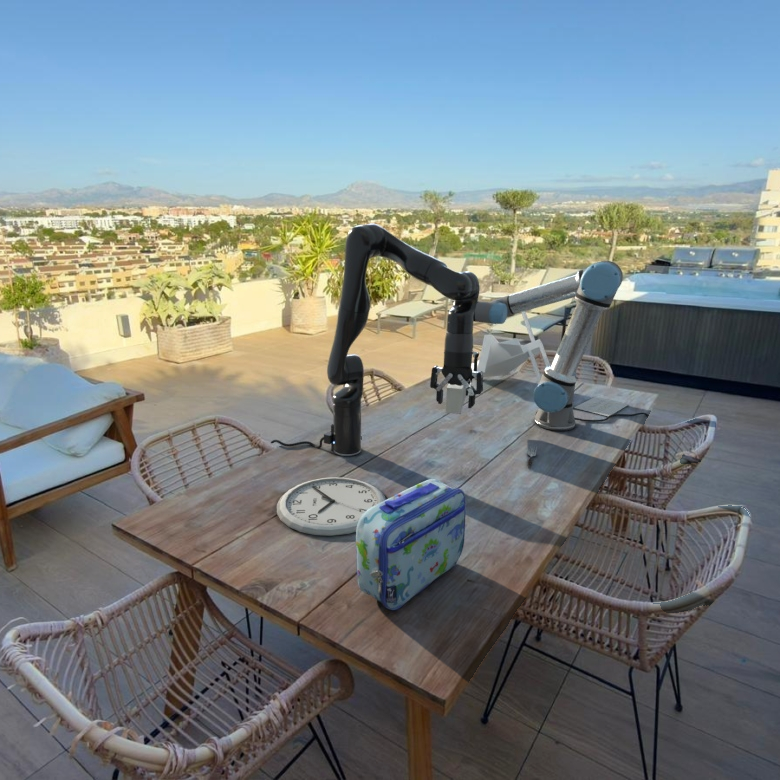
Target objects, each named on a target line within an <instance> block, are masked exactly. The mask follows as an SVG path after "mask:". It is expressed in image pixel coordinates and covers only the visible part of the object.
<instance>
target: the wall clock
mask: <svg viewBox="0 0 780 780" xmlns="http://www.w3.org/2000/svg"><path fill="white" fill-rule="evenodd" d="M385 500H387V498H386V496H385V494H384V493H383V492H382V491H381V490H380V489H379V488H377V487H376V486H374V485H372V484H371V483H369V482H365V481H362V480H359V479H355V478H349V477H338V476H337V477H335V476H333V477H332V476H331V477H322V478H317V479H312V480H307V481H305V482H302V483H299V484H297V485H295V486H293V487H292V488H290V489H288V490H287V491H286V492H285V493H284V494H283V495H281V496H280V498H279V499H278V502H277V503H276V515H277V517H278V518H279V520H280V521H281V522H282V523H283V524H285V525H286V526H287V527H288V528H290V529H293V530H295V531H297V532H299V533H303V534H308V535H312V536H327V537H328V536H329V537H331V536H332V537H333V536H342V535H350V534H352V533H356V529H357V525H358V522H359V520H360V518H361V516H362V515H363V513H364V512H365V511H366V510H368V509H369V508H371V507H373V506H375V505H377V504H379V503H381V502H383V501H385Z"/></svg>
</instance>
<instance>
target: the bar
mask: <svg viewBox="0 0 780 780" xmlns="http://www.w3.org/2000/svg"><path fill="white" fill-rule="evenodd" d="M445 396H446V397H445V398H446V399H445V414H455V415H461V414H462V411H463V408H464V404H465V402H466V397H467V396H466V389H465V387H464V386H463V385H461V386H458V385H450V384H448V383H447V385H446V395H445Z"/></svg>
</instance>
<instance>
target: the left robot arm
mask: <svg viewBox="0 0 780 780" xmlns="http://www.w3.org/2000/svg"><path fill="white" fill-rule="evenodd" d="M344 247H345V248H344V266H343V270H344V271H343V277H342V285H341V286H342V287H341V293H340V299H339V304H338V309H337V317H336V325H335V331H334V337H333V340H332V345H331V349H330V351H329V352H330V353H329V357H328V360H327V367H326V374H327V379H328V381H329V383H331V385H334V386H343V387H342V388H341V389H339V390H338V391H336V392H335V393H334V394H333V396H332V417H333V418H332V419H333V420H332V421H333V422H332V423H331V424H330V430H329V431H328V432H325V433H323V436H322V437H321V438H320V440H319V445H316V444H314V443H313V442H311V441H307V440H305V441H298V442H294V443H285V442H282V441H281V440H279V439H272V440H271V441H270V444H274V443H278V444H280V445H282V446H283V447H296V446H299V445H310V446H312V447H313V448H315V449H321V448H322V447H323V443H324V444H327V445H330V447H331V449H330V451H331V452H333V453H334V454H335V455H337V456H340V457H353V456H357V455H359V454H360V453H361V452H362V441H363V440H362V439H363V436H362V398H363V394H364V377H365V370H364V369H365V368H364V363H363V360H362V358H361V357H360V356H359V355H358V354H349V350H350V349H351V347H352V345H353V344H354V342H355V341H357V339H358V337H359V336H360V335H361V333H362V332H363V330H365V327H366V325H367V323H368V320H369V315H370V309H371V296H370V293H369V290H368V287H367V282H366V274H367V269H368V265H369V261H370V259H374V258H377V257H380V258H385V259H388V260H391V261H393V262H395V263H396V264H397V265H398V266H399V267H401V268H402V270H404V272H405V273H406V274H408V275H409V276H410V277H412V278H413V279H415V280H417V281H419V282H421V283H423V284H425V285H427V286H430V287H432V288H433V289H434V290H435V291H437V292H438V293H439V294H441V295H442V296H443V297H445V298H447V299H449V300H452V301H453V304H452V307H451V309H449V310H448V312H447V315H446V326H445V327H446V329H445V337H444V349H443V366H442V367H441V366H438V365H435V366H433V367H432V368H431V373H430V384H429V387H430V389H434V390H435V391H436V393H435V395H436V397H435V398H436V399H435V401H436V402H437V404H438V405H442V404H443V402H444V389H443V388H444V387H445V386H447V385H448V383H449V384H450V385H458V386H461V385H463V386H464V387H465V389H467V391H468V402H467V409H472V408H473V407H474V406H475V404H476V395H481V394H482V392H483V391H484V378H483V372H482V371H479V372H474V371H472V368H471V366H472V363H473V354H472V351H474V322H473V317H474V312H475V309H476V306H477V301H478V302H479V296H480V290H481V288H480V287H481V286H480V280H479V277H478V276H477V275H476V274H475V272H474V273H473V272H470V271H460V272H458V271H455V270H453V269H451V268H449V267H448V266H447V264H446V263H445V262H443V261H442V260H440V259H438V258H435V257H433V256H431V255H429V254H427V253H425V252H422V251H421V250H418V249H417V248H415V247H412V246H411V245H409V244H408V243H405V242H404V241H403V240H401V239H399V238H398V237H397V236H395V235H394V234H392V233H391V232H390V231H388V230H387V229H386V228H385V227H384V228H383V227H382V226H381V225H379V224H377V223H366V224H360V225H356V226H353V227H351V229H350V230H348V233H347V235H346V239H345V246H344ZM440 374H442V375H443V377H444V378H443V380H442V381H441V382H440V383H438V379H439V378H438V377H439V375H440ZM471 376H474V379H473V380H476V387H474V385H473V381H472V382H471V381H470V377H471Z"/></svg>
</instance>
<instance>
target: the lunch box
mask: <svg viewBox="0 0 780 780" xmlns="http://www.w3.org/2000/svg"><path fill="white" fill-rule="evenodd" d="M465 532H466V495H465V492H464V491H463V490H462V489H461V488H453V487H451V486H449V485H447V484H445V483H443V482H442V481H440V480H437V479H435V478H430V479H426V480H424V481H422V482H420V483H417V484H415V485H413V486H411V487H409V488H407V489H405V490H403V491H401V492H399V493H397V494H395V495H393V496H391V497H389V498H386V500H385V501H383V502H381V503H379V504H377V505H375V506H373V507H371V508H369V509H368V510H366V511H365V512H364V513H363V515H362V516H361V518H360V520H359V522H358V525H357V529H356V532H355V551H356V579H357V580H356V581H357V585H358V588H359V590H360V591H361V592H363V593H365V594H366V595H369V596H371V597H372V598H374V599H375V600H376V601H378V602H380V603H381V604H382V606H383V607H384V608H386V609H388V610H391V611H397V610H399V609H401V608H402V607H403V606H405V604H406V603H407V602H409V601H410V600H412V598H414V597H415V596H417V594H419V593H421V592H422V591H423V590H425V588H426V587H428V586H430V585H431V584H432V583H433V582H434V581H435V580H436V579H438V578H439V577H440V576H442V575H444V574H446V572H448V571H450V570H451V569H452V568H453V567H454V566H455V565H456V564H457V563H458V561H459V559H460V558H461V555H462V552H463V549H464V546H465V545H464V544H465V536H466V535H465V534H466V533H465Z"/></svg>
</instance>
